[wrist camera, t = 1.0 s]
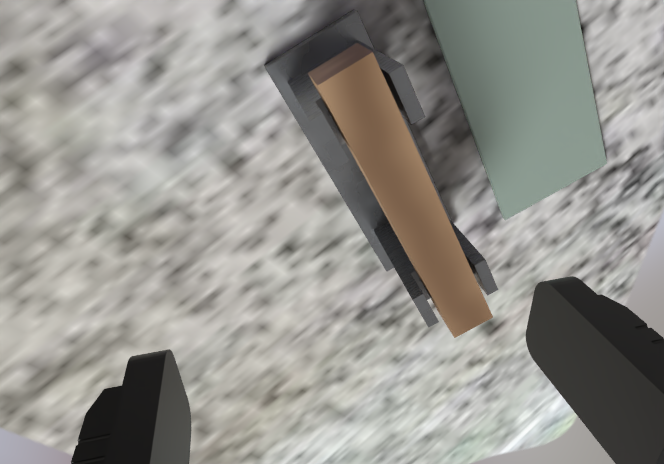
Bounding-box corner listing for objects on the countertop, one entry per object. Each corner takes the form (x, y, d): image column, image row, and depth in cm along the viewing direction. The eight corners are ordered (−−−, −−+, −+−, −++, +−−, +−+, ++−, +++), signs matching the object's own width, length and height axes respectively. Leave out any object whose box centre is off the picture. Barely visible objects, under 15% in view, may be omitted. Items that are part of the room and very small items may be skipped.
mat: (543, -148, 28) (547, -149, 28) (603, 161, 41) (606, 163, 41) (401, -59, 29) (403, -59, 29) (503, 217, 42) (505, 220, 42)
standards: (353, 10, 31) (405, 27, 22) (452, 226, 41) (514, 297, 32) (264, 65, 31) (280, 104, 23) (383, 265, 42) (426, 345, 33)
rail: (357, 43, 24) (372, 51, 22) (473, 291, 35) (492, 317, 32) (307, 73, 24) (317, 85, 22) (437, 310, 35) (454, 337, 32)
